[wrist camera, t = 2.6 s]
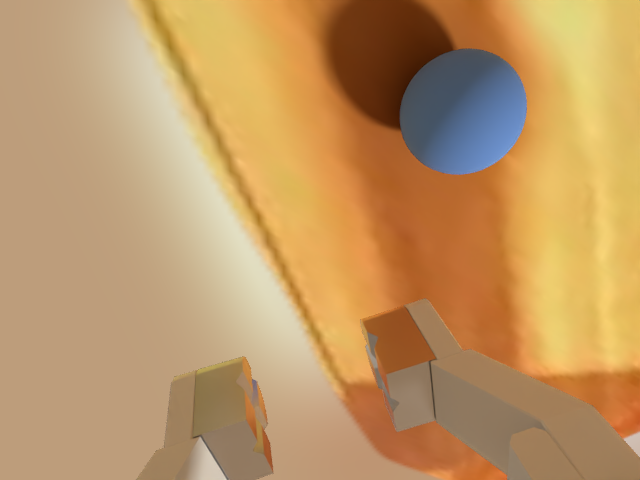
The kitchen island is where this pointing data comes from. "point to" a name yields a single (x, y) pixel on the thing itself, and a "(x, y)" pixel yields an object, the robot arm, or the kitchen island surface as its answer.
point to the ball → (463, 111)
